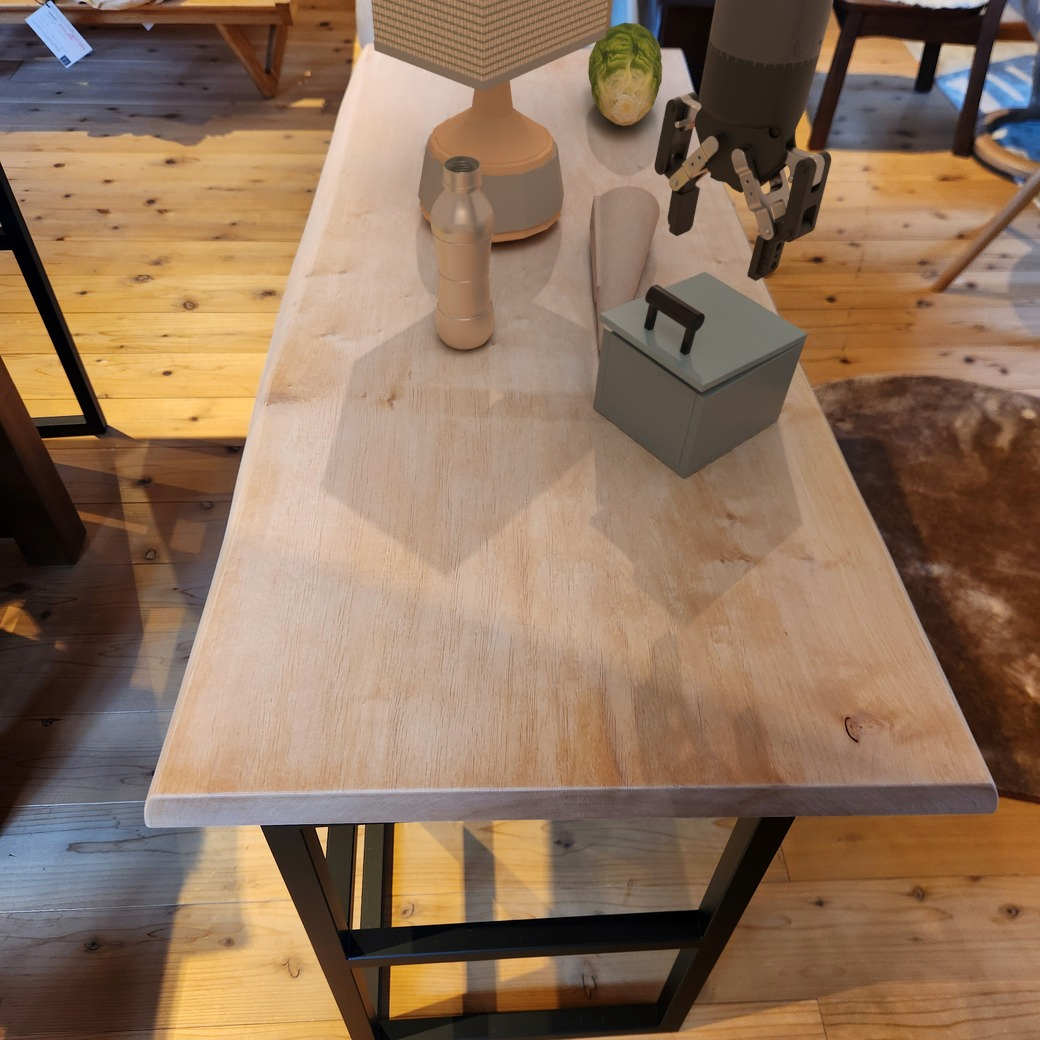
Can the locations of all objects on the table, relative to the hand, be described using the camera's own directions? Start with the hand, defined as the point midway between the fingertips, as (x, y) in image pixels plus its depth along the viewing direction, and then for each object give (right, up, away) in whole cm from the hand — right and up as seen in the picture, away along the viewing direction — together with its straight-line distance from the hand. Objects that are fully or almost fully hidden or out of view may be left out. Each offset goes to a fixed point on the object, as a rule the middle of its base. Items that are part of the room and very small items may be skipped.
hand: (717, 253), depth 70 cm
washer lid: (+1, -4, +10) cm, 11 cm away
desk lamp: (-20, +18, +43) cm, 51 cm away
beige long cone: (-3, +5, +32) cm, 33 cm away
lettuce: (0, +42, +65) cm, 78 cm away
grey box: (+1, -11, +18) cm, 21 cm away
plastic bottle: (-22, -2, +25) cm, 34 cm away
